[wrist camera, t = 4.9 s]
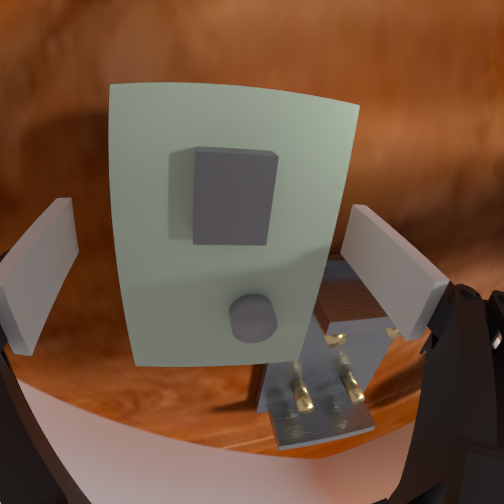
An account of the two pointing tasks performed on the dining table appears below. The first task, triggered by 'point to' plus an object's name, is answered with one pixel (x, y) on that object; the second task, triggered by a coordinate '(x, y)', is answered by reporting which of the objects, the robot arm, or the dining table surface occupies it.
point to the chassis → (329, 365)
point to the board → (223, 217)
